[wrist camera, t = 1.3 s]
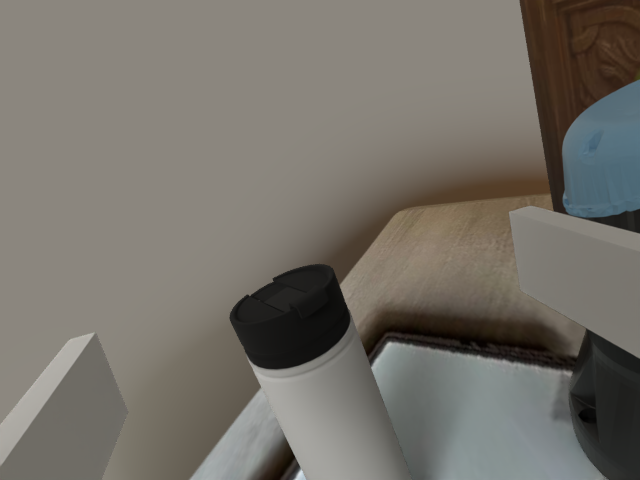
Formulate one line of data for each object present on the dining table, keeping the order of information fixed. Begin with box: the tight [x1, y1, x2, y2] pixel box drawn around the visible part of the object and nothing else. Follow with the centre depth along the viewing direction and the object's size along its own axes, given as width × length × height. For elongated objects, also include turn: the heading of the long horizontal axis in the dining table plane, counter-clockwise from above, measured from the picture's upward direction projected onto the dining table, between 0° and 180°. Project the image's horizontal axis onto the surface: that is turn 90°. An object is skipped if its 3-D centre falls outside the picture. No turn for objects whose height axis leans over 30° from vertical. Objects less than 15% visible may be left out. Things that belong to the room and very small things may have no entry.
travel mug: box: [230, 264, 412, 480], centre depth 29 cm, size 6×7×20 cm
